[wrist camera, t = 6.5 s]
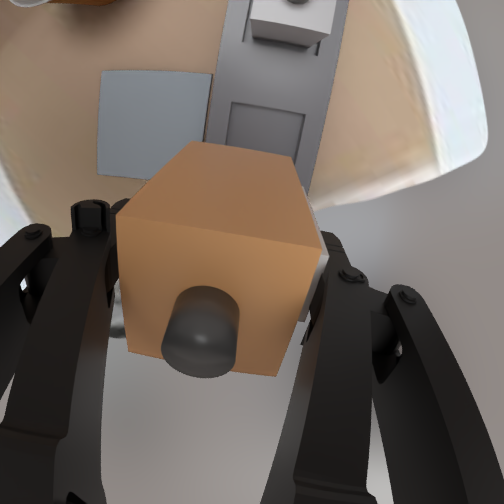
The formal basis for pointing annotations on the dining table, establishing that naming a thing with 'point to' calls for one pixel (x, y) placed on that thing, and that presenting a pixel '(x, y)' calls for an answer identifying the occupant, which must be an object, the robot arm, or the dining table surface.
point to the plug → (216, 261)
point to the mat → (148, 119)
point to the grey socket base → (276, 77)
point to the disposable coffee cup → (36, 0)
